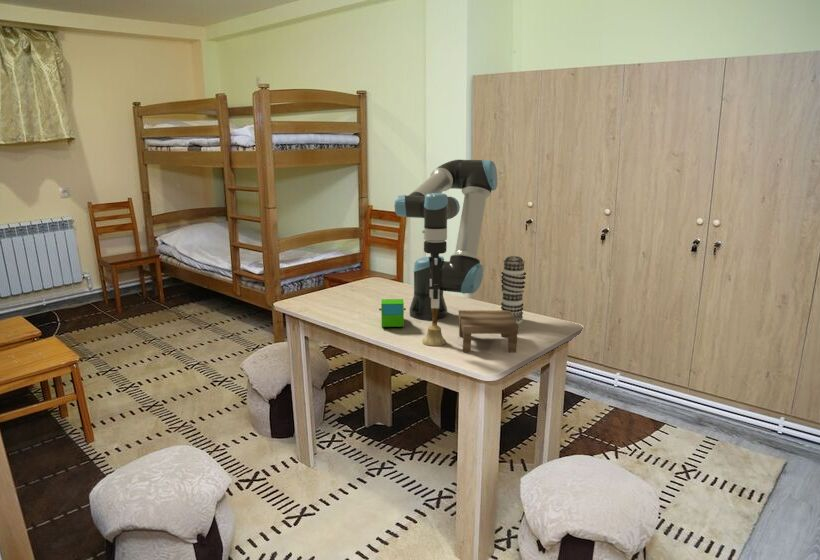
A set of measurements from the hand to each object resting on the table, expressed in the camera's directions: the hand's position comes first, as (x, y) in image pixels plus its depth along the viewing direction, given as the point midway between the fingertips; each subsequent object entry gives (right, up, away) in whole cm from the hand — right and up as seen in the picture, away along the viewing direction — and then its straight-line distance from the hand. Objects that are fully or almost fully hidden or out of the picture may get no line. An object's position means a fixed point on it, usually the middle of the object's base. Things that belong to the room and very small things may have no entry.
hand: (434, 302), depth 192 cm
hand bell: (0, -14, +4) cm, 15 cm away
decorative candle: (+31, -8, +27) cm, 42 cm away
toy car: (-15, -9, +23) cm, 29 cm away
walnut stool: (+18, -14, +3) cm, 23 cm away
